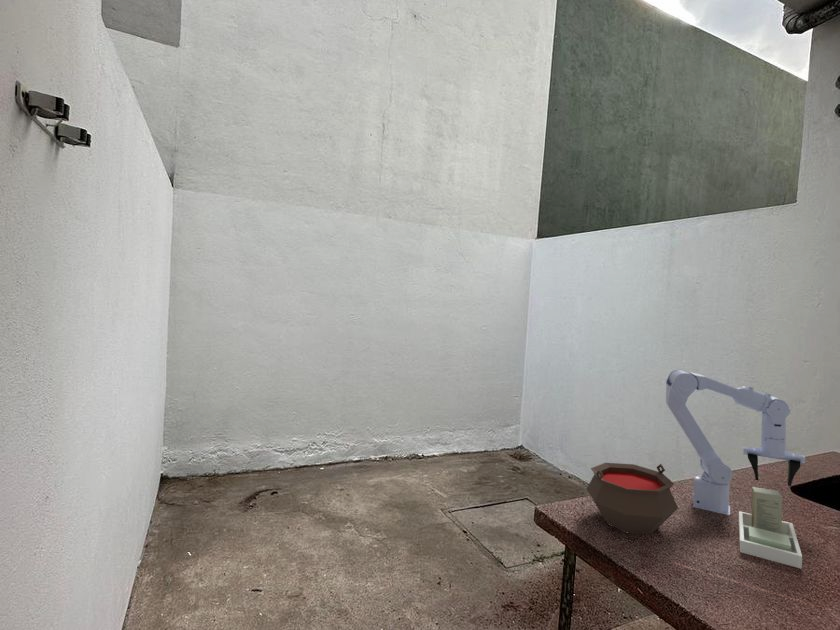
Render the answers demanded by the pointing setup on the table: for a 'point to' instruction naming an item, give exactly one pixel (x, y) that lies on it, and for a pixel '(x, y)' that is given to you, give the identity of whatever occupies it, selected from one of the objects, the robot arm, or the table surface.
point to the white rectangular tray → (769, 552)
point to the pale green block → (769, 538)
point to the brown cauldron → (632, 496)
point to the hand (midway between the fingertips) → (772, 482)
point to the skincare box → (767, 509)
